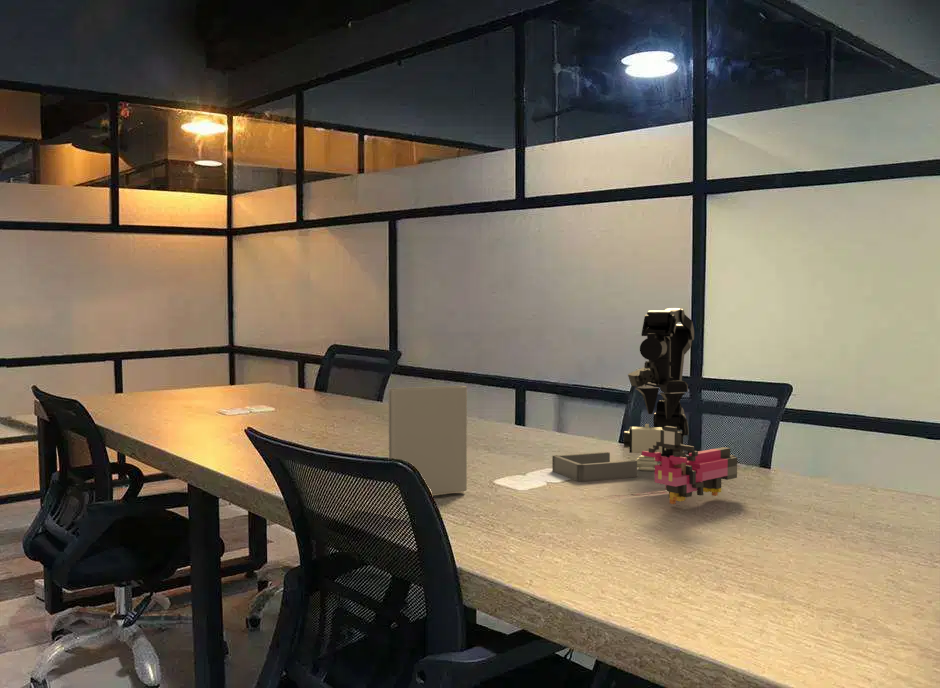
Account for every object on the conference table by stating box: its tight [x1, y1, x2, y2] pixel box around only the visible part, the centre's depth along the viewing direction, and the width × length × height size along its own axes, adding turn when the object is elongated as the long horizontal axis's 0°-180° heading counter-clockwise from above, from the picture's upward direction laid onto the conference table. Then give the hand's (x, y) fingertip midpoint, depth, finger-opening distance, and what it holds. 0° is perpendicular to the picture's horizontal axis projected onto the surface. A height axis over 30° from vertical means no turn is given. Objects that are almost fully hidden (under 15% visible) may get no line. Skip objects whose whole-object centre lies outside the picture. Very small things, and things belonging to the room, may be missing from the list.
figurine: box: [641, 426, 738, 505], centre depth 186 cm, size 11×25×17 cm, turn 129°
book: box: [388, 385, 468, 496], centre depth 191 cm, size 18×4×24 cm, turn 116°
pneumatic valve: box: [623, 423, 668, 472], centre depth 219 cm, size 6×12×12 cm, turn 79°
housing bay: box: [551, 451, 638, 483], centre depth 213 cm, size 16×14×4 cm
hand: (659, 416), depth 224 cm, fingers open, 9 cm apart
